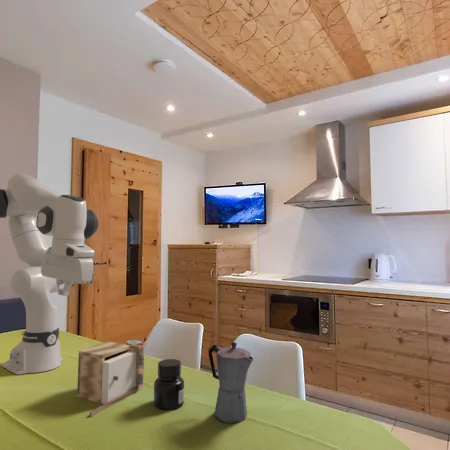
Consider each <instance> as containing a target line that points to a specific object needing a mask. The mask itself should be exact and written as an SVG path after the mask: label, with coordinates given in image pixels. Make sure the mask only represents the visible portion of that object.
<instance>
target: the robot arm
mask: <svg viewBox="0 0 450 450" xmlns="http://www.w3.org/2000/svg"><path fill="white" fill-rule="evenodd" d="M1 218H2V219H3V218H4V219H5V218H9V219H8V227H9V233H10V237H11V240H12V243H13V245H14V248H15V251H16V254H17V256H18V258H19V259H20V261H21V262H24V263H25V264H27V265H29V267H24V268H21V269H18V270H16V271H15V272H14V273H13V274H12V276H11V279H10V287H11V289H12V291H13V292H14V293H15V294H16V295H17V296H19V297H20V300H21V301H22V302H23V304H24V308H25V331H21V336H22V339H21V341H20V342H19V343H18V344H16V345H15V346H14V347H13V348H12V349H11V351H10V354H9V360H7V361H5V362H3V363H2V364H1V367H2V368H3V369H5V368H6V370H7V371H9V372H11V373H12V374H15V375H23V374H35V373H42V372H48V371H50V370H54V369H56V368H59V367H60V366H61V364H62V361H63V357H62V355H61V342H60V340H59V337H60V328H59V308H58V307H57V305H56V304H53V303H52V300H51V297H50V294H52V293H57V294H58V295H60V296H63V297H66V296H69V295H70V290H71V288H72V287H73V285H74V284H78V285H85V284H90V283H91V281H92V280H93V275H94V260H93V258H94V257H95V249H92V248H91V247H90V246H88V245H87V244H86V243H85V240H88V239H89V238H91V237H92V236H93V235H95V233H96V232H97V230H98V229H99V218H98V217H97V215H96V214H95V212H94V211H93V210H92V209H87V202H86V200H85V199H84V198H83V197H80V196H76V195H71V194H61V195H60V194H58V193H57V192H55V191H54V190H52V189H50V188H49V187H48V186H46V185H44V184H43V183H42V182H41V181H40V180H38V179H37V178H35V176H34V177H33V176H32V175H29V174H27V173H26V174H25V173H18V174H17V173H16V174H14V175H12V176H11V177H10V178H9V180H8V181H7V188H2V189H1V188H0V219H1ZM45 236H49V237H52V238H51V240H52V241H51V246H49V245H48V242H47V240H46V238H45Z"/></svg>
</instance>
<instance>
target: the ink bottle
mask: <svg viewBox="0 0 450 450" xmlns="http://www.w3.org/2000/svg"><path fill="white" fill-rule="evenodd" d="M181 372H182V362H181V360H180V359H176V358H175V359H174V358H166V359H162V360H160V361H159V362H158V363H157V376H158V377H157V378H156V379H155V380H154V381H153V406H154V407H155V408H156V409H157V410H162V411H170V410H176V409H178V408H181V407H182V406H183V404H184V403H185V380H184V379H183V377H181V374H182V373H181Z"/></svg>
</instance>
